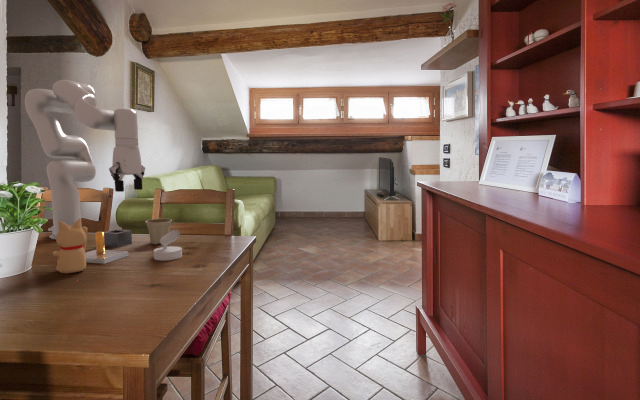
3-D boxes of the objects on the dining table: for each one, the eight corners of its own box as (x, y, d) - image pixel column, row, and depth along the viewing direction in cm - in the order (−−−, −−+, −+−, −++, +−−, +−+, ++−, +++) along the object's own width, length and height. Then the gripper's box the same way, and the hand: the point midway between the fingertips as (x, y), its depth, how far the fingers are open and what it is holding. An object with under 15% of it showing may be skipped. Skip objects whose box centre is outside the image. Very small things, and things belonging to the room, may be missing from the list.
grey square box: (102, 246, 139) (101, 232, 138) (116, 242, 146) (115, 229, 145) (118, 247, 137) (117, 233, 137) (132, 243, 144) (131, 230, 143)
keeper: (72, 261, 118) (70, 234, 117) (98, 253, 128) (96, 228, 127) (104, 263, 115) (102, 236, 114) (128, 255, 125) (127, 230, 124)
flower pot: (166, 245, 140) (165, 222, 139) (141, 245, 140) (140, 222, 140) (176, 240, 150) (176, 218, 149) (153, 240, 150) (152, 218, 149)
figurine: (82, 264, 115) (79, 215, 113) (97, 270, 109) (94, 218, 107) (49, 271, 108) (45, 218, 106) (63, 277, 102) (60, 222, 101)
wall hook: (163, 232, 116) (147, 228, 122) (164, 262, 117) (148, 257, 123) (188, 228, 123) (172, 225, 129) (189, 257, 124) (173, 252, 130)
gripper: (134, 144, 148) (136, 188, 149) (99, 142, 131) (102, 192, 133) (151, 144, 146) (153, 189, 148) (118, 142, 129) (120, 192, 131)
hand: (129, 190), depth 140 cm, fingers open, 9 cm apart
